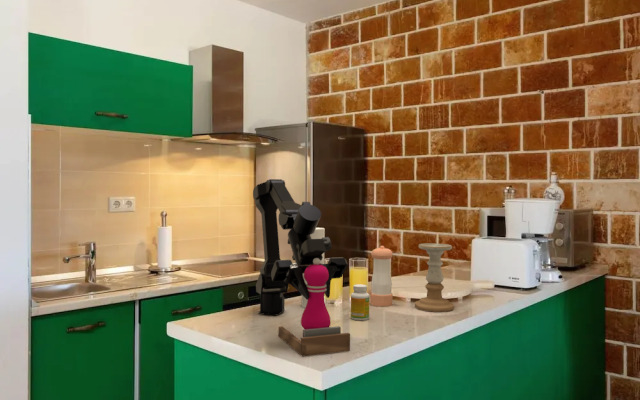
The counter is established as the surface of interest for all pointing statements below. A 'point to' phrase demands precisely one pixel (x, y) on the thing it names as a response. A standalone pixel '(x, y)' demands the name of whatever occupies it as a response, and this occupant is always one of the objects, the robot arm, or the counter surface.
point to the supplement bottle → (360, 303)
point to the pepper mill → (316, 297)
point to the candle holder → (434, 280)
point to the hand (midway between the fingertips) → (318, 297)
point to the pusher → (321, 331)
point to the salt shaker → (381, 278)
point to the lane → (316, 342)
